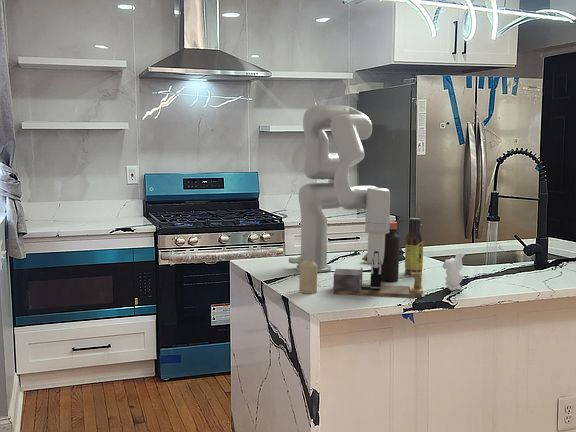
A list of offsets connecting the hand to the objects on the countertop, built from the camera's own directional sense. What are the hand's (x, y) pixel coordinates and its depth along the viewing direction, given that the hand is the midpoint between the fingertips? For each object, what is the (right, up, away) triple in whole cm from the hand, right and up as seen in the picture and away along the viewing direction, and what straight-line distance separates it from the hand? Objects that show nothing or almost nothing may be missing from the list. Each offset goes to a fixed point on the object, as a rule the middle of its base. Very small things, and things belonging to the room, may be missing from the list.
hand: (375, 284), depth 212 cm
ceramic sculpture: (+8, +3, +50) cm, 51 cm away
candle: (-21, -2, -1) cm, 22 cm away
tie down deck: (+1, -2, 0) cm, 3 cm away
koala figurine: (+26, -2, +5) cm, 26 cm away
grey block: (-5, -1, +1) cm, 5 cm away
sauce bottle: (+17, +1, +29) cm, 34 cm away
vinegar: (+7, 0, +17) cm, 19 cm away
